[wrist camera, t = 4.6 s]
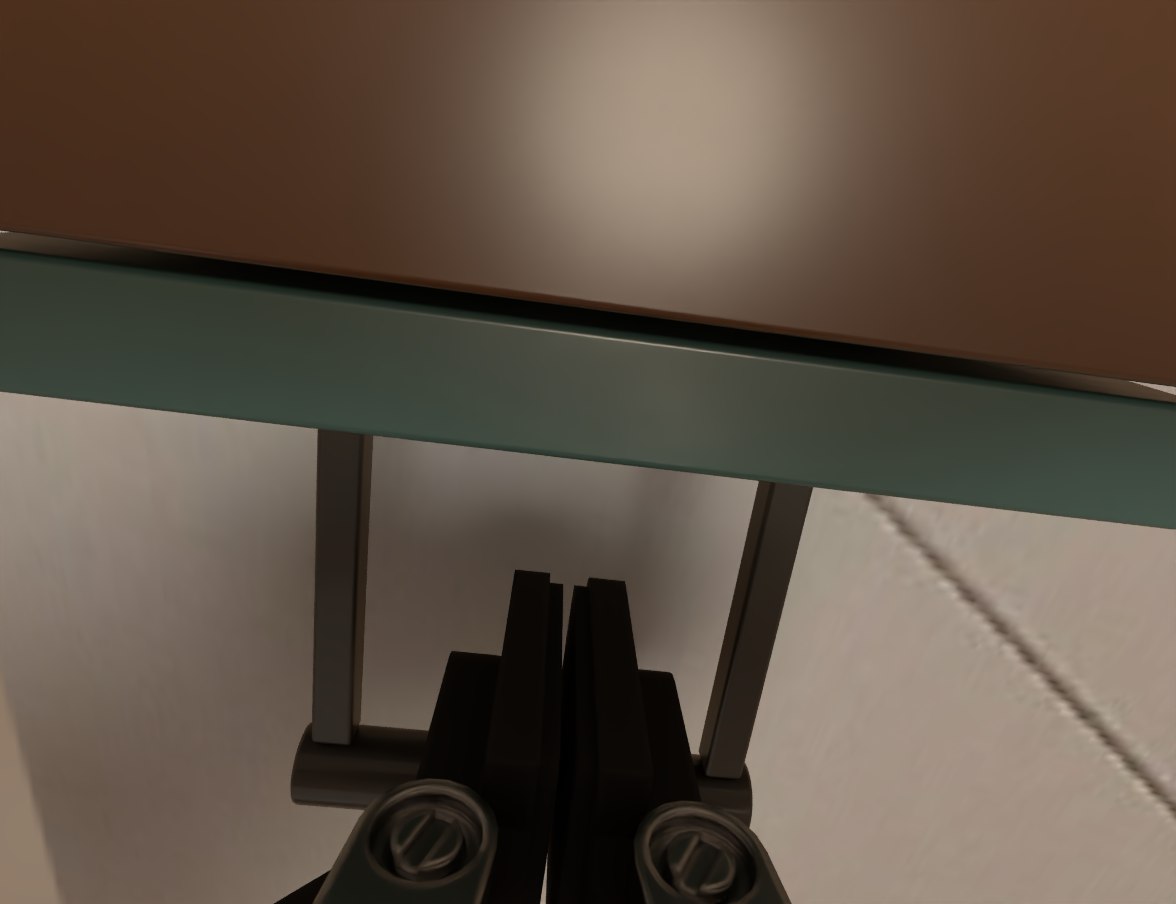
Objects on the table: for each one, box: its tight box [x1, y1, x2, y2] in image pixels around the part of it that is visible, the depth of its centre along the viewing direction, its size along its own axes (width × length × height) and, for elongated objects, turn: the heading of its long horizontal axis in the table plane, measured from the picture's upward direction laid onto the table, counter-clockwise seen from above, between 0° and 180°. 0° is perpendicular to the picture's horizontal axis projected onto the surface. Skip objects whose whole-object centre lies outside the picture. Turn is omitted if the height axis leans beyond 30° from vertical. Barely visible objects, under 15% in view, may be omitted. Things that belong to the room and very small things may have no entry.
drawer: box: [0, 232, 1176, 828], centre depth 9 cm, size 21×11×7 cm, turn 172°
